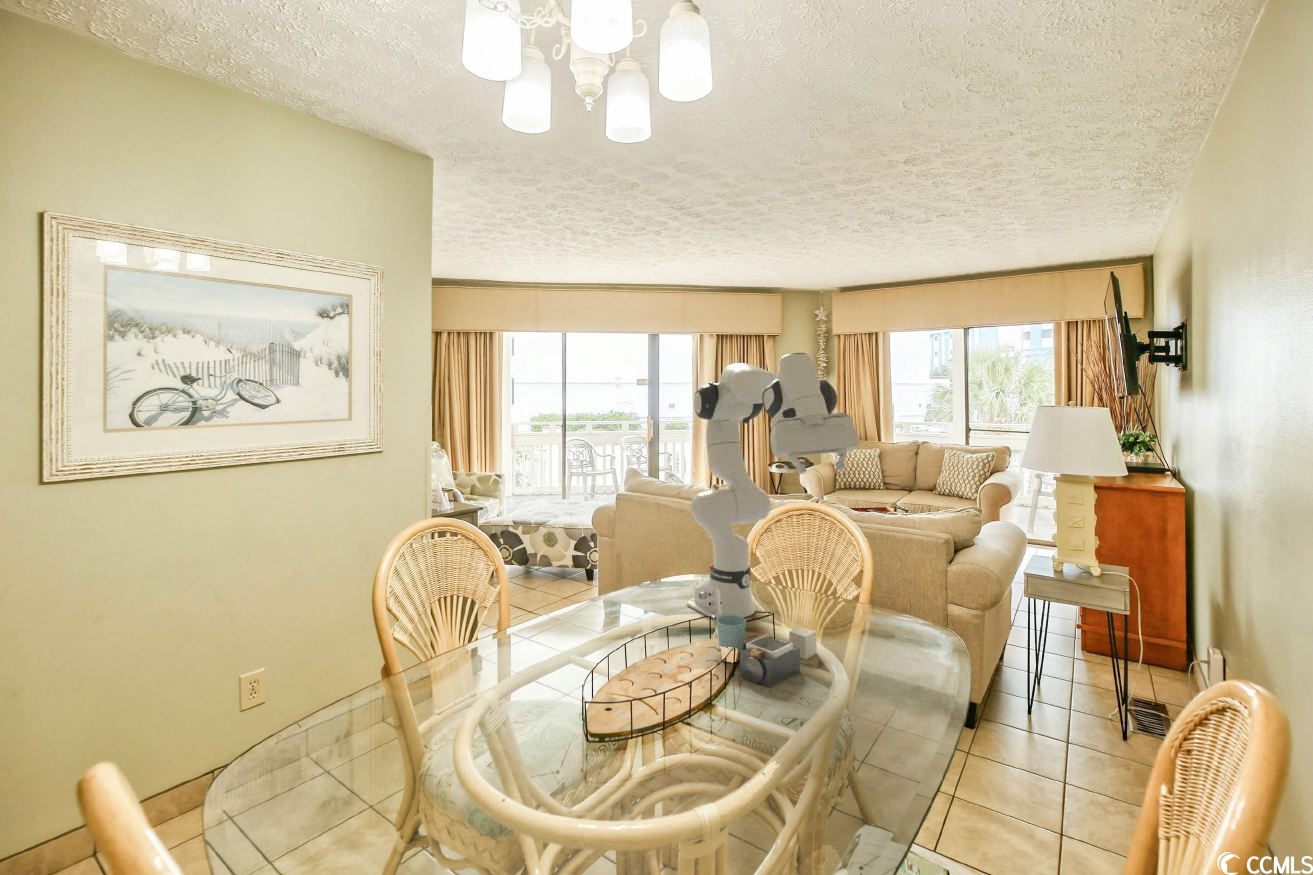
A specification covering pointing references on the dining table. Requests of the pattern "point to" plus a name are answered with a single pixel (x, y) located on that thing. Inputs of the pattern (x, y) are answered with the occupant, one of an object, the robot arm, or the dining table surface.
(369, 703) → the dining table surface
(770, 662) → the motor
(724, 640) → the cup
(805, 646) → the pump block
